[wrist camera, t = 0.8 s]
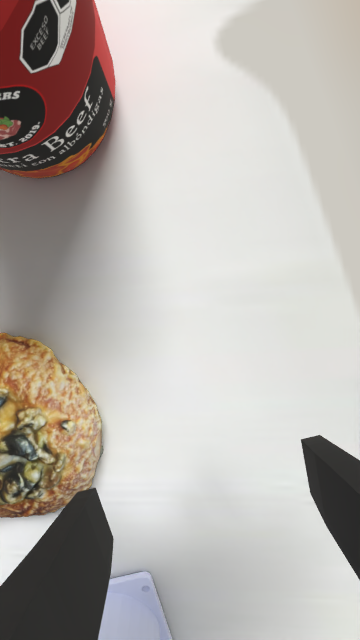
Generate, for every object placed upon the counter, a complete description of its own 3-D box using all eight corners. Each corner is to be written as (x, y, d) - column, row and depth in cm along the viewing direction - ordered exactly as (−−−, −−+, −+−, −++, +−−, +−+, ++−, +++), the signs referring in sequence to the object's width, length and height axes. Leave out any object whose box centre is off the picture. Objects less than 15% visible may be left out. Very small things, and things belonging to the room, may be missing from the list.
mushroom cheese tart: (-112, 466, 19) (-199, 530, 14) (-36, 296, 19) (-99, 301, 14) (67, 525, 21) (46, 600, 16) (140, 372, 20) (141, 400, 15)
